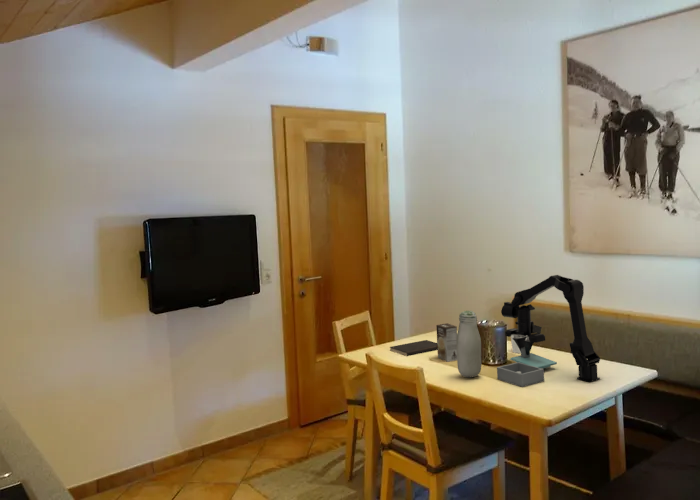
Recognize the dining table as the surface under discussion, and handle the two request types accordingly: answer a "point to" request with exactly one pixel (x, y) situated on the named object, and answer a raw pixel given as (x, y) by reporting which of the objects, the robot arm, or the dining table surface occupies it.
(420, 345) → the hardcover book
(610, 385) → the dining table surface
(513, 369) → the parts tub
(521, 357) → the lid
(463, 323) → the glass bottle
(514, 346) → the white cup
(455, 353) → the coffee box
